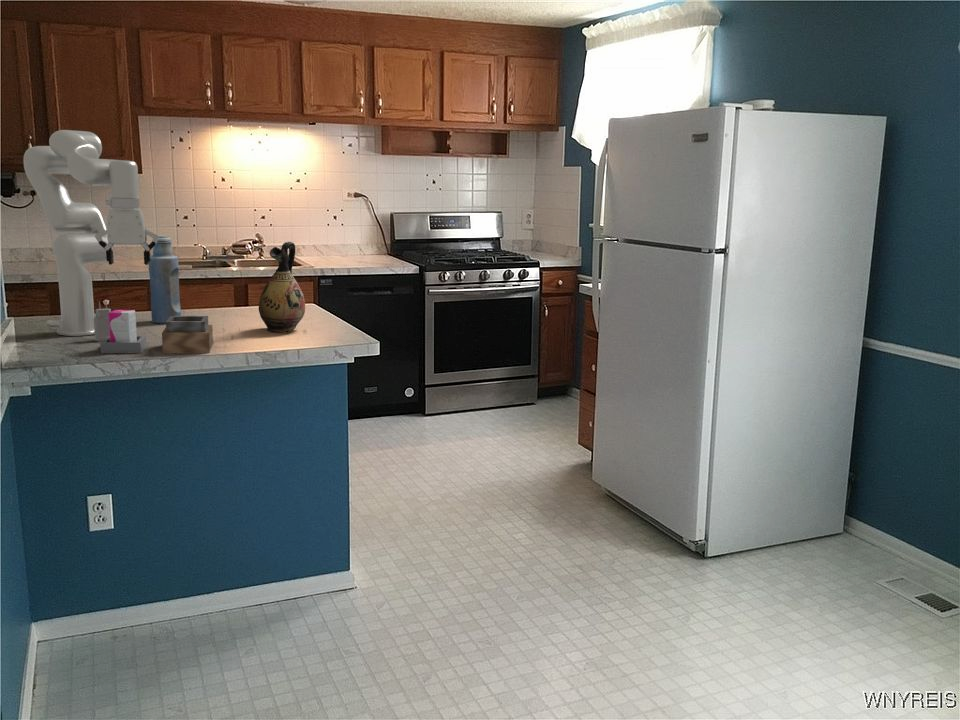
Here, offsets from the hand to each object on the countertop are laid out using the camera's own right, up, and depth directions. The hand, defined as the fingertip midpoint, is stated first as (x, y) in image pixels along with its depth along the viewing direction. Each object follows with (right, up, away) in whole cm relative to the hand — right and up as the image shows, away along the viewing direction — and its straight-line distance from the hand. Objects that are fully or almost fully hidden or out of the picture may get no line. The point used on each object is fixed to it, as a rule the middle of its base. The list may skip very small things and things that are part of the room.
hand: (128, 264), depth 238 cm
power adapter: (-14, -22, +15) cm, 30 cm away
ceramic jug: (+35, -18, +42) cm, 58 cm away
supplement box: (-3, -25, +3) cm, 25 cm away
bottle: (-8, -15, +49) cm, 52 cm away
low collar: (-3, -25, +3) cm, 25 cm away
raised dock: (+15, -24, +7) cm, 29 cm away
